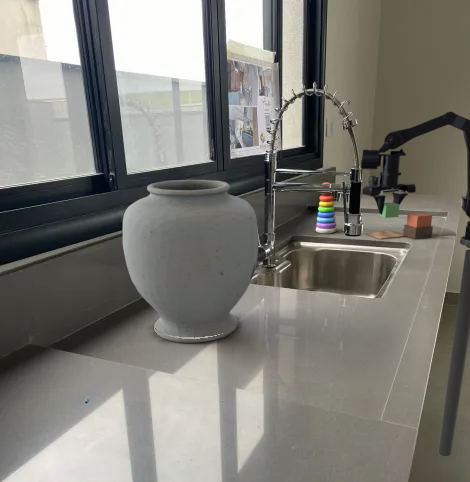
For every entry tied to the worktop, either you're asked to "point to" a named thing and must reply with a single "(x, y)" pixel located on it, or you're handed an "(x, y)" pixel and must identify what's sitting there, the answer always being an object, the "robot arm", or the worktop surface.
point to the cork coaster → (385, 234)
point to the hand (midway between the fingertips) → (387, 213)
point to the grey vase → (191, 255)
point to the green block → (390, 210)
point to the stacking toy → (326, 214)
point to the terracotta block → (419, 219)
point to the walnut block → (418, 232)
